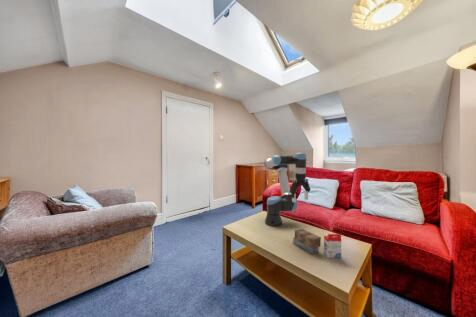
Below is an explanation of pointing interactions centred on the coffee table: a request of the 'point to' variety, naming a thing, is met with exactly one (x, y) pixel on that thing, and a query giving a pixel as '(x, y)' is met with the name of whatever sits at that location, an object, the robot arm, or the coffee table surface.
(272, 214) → the robot arm
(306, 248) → the rail
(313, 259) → the coffee table surface
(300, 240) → the wooden block
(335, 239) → the ink box
